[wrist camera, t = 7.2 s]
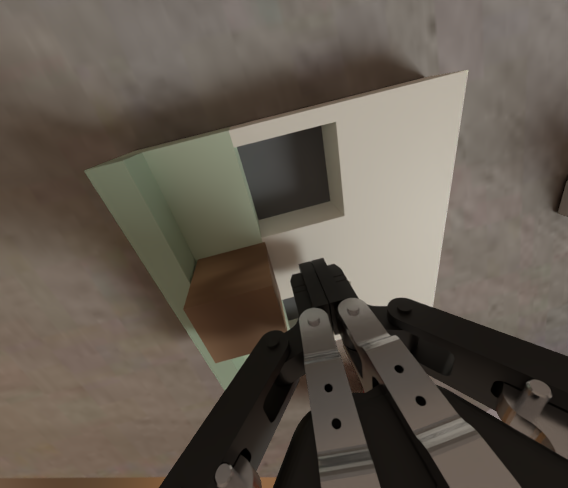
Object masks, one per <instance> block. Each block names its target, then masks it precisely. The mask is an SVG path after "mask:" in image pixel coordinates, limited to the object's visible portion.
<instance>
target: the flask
mask: <svg viewBox="0 0 568 488" xmlns="http://www.w3.org/2000/svg"><path fill="white" fill-rule="evenodd" d="M558 214H561V215H564V216H567V217H568V180H567V182H566V185H565V189H564V192H563V196H562V199H561V203H560V206H559V210H558Z"/></svg>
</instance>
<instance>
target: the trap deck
mask: <svg viewBox="0 0 568 488" xmlns="http://www.w3.org/2000/svg"><path fill="white" fill-rule="evenodd" d="M467 76H468V70H464V71H458V72H453V73H447V74H441V75H436V76H430V77H425V78H421V79H417V80H413V81H409V82H405V83H401V84H397V85H393V86H389V87H385V88H381V89H377V90H373V91H369V92H365V93H361V94H357V95H353V96H349V97H346V98H342V99H338V100H334V101H330V102H326V103H322V104H318V105H314V106H310V107H306V108H302V109H298V110H294V111H290V112H286V113H282V114H278V115H274V116H270V117H266V118H263V119H259V120H255V121H251V122H247V123H243V124H239V125H235V126H231V127H227V128H223V129H219V130H215V131H211V132H207V133H203V134H199V135H195V136H191V137H187V138H183V139H179V140H176V141H172V142H168V143H164V144H160V145H156V146H152V147H148V148H144V149H140V150H136V151H133V152H130V153H128V154H125V155H123V156H120V157H118V158H115V159H112V160H110V161H107V162H105V163H102V164H99V165H97V166H94V167H92V168H89V169H87V170H84V172H85V174H86V175H87V177H88V178H89V180H90V181H91V183H92V184H93V186H94V188H95V189H96V191H97V192H98V194H99V195H100V197H101V199H102V200H103V202H104V203H105V205H106V206H107V208H108V209H109V211H110V213H111V214H112V216H113V217H114V219H115V220H116V222H117V224H118V225H119V227H120V228H121V230H122V231H123V233H124V234H125V236H126V238H127V239H128V241H129V242H130V244H131V245H132V247H133V249H134V250H135V252H136V253H137V255H138V256H139V258H140V259H141V261H142V263H143V264H144V266H145V267H146V269H147V270H148V272H149V273H150V275H151V277H152V278H153V280H154V281H155V283H156V284H157V286H158V288H159V289H160V291H161V292H162V294H163V295H164V297H165V298H166V300H167V302H168V303H169V305H170V306H171V308H172V309H173V311H174V313H175V314H176V316H177V317H178V319H179V320H180V322H181V323H182V325H183V327H184V328H185V330H186V331H187V333H188V334H189V336H190V337H191V339H192V341H193V342H194V344H195V345H196V347H197V348H198V350H199V352H200V353H201V355H202V356H203V358H204V359H205V361H206V362H207V364H208V366H209V367H210V369H211V370H212V372H213V373H214V375H215V377H216V378H217V380H218V381H219V383H220V384H221V386H222V387H223V389H224V391H225V390H226V389H227V387H228V386H229V384H230V383H231V381H232V380H233V378H234V377H235V375H236V374H237V372H238V371H239V369H240V368H241V366H242V365H243V364H244V362H245V361H246V359H247V358H248V356H249V355H250V354H248V355H244V356H241V357H237V358H233V359H230V360H226V361H222V362H219V363H215V362H214V360H213V358H212V357H211V355H210V353H209V352H208V350H207V348H206V347H205V345H204V343H203V342H202V340H201V338H200V337H199V335H198V333H197V332H196V330H195V328H194V327H193V325H192V323H191V322H190V320H189V318H188V317H187V315H186V313H185V312H184V310H183V308H184V305H185V301H186V298H187V294H188V291H189V288H190V284H191V281H192V278H193V274H194V271H195V267H196V264H197V261H198V259H202V258H206V257H210V256H213V255H217V254H221V253H225V252H229V251H232V250H236V249H240V248H244V247H248V246H251V245H255V244H259V243H263V242H265V244H266V247H267V250H268V254H269V257H270V261H271V264H272V268H273V271H274V274H275V278H276V281H277V285H278V288H279V292H280V296H281V301H282V306H283V311H284V315H285V320H286V325H287V330H290V329H291V328H292V327H294V326H295V324H296V323H297V321H298V318H299V314H298V310H297V306H296V302H295V298H294V294H293V290H292V287H291V283H290V280H291V277H292V275H293V274H297V273H300V269H299V265H298V264H301V263H305V262H308V261H312V260H316V259H320V258H324V260H325V262H326V264H327V265H331V264H335V265H337V266H338V267H340V268H341V269H342V271H343V273H344V275H345V276H346V278H347V280H348V281H349V283H350V285H351V286H352V288H353V290H354V291H355V293H356V295H357V296H358V298H359V299H361V300H362V301H364V302H365V303H366V304H368V305H371V306H387V305H388V303H389V302H390V301H391V300H392V299H395V298H408V299H411V300H414V301H417V302H419V303H422V304H425V305H428V306H430V307H433V302H434V296H435V289H436V282H437V276H438V269H439V262H440V256H441V249H442V242H443V236H444V229H445V222H446V216H447V209H448V203H449V196H450V189H451V183H452V176H453V169H454V163H455V156H456V149H457V143H458V136H459V129H460V123H461V116H462V109H463V103H464V96H465V89H466V83H467ZM333 334H334V332H333ZM334 339H335V341H336V340H339V339H342V338H341V336H340V334H338V335H335V334H334Z"/></svg>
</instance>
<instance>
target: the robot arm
mask: <svg viewBox="0 0 568 488" xmlns="http://www.w3.org/2000/svg"><path fill="white" fill-rule="evenodd" d="M298 265H299V269H300V273H297V274H293V275H292V277H291V280H290V283H291V287H292V290H293V294H294V298H295V302H296V306H297V310H298V314H299V318H298V321H297V323H296V324H295V326H294V327H292V328H291V329H290V330H288V331H286V332H285V333H284V332H282V331H279V330H273V331H269V332H267V333H266V334H264V335H263V336H262V337H261V339H260V340H259V342H258V343H257V344H256V346H255V347H254V349H253V350H252V352H251V353H250V355H249V356H248V358H247V359H246V361H245V362H244V364H243V365H242V366H241V368H240V369H239V371H238V372H237V374H236V375H235V377H234V378H233V380H232V381H231V383H230V384H229V386H228V387H227V389H226V390H225V391H224V393H223V394H222V396H221V397H220V399H219V400H218V402H217V403H216V405H215V406H214V408H213V409H212V411H211V412H210V413H209V415H208V416H207V418H206V419H205V421H204V422H203V424H202V425H201V427H200V428H199V430H198V431H197V433H196V434H195V435H194V437H193V438H192V440H191V441H190V443H189V444H188V446H187V447H186V449H185V450H184V452H183V453H182V455H181V456H180V457H179V459H178V460H177V462H176V463H175V465H174V466H173V468H172V469H171V471H170V472H169V474H168V475H167V477H166V478H165V480H164V481H163V483H162V484H161V485H160V487H159V488H262V486H261V480H260V477H259V475H258V473H257V472H256V470H257V468H258V466H259V464H260V462H261V460H262V458H263V456H264V454H265V452H266V449H267V447H268V445H269V443H270V441H271V439H272V437H273V435H274V433H275V430H276V428H277V426H278V424H279V422H280V420H281V418H282V416H283V414H284V412H285V409H286V407H287V405H288V403H289V401H290V399H291V397H292V395H293V393H294V390H295V388H296V386H297V384H298V382H299V378H300V377H301V376H303V375H304V374H306V379H307V386H308V393H309V400H310V407H311V411H310V412H308V413H307V414H306V415H305V416H304V417H303V419H302V420H301V421H300V423H299V424H298V426H297V428H296V430H295V432H294V434H293V437H292V439H291V442H290V445H289V447H288V450H287V452H286V455H285V458H284V460H283V463H282V465H281V468H280V471H279V473H278V476H277V478H276V481H275V484H274V486H273V488H568V356H565V355H563V354H560V353H557V352H554V351H552V350H549V349H546V348H543V347H541V346H538V345H535V344H532V343H530V342H527V341H524V340H521V339H518V338H516V337H513V336H510V335H507V334H505V333H502V332H499V331H496V330H494V329H491V328H488V327H485V326H483V325H480V324H477V323H474V322H472V321H469V320H466V319H463V318H461V317H458V316H455V315H452V314H450V313H447V312H444V311H441V310H439V309H436V308H433V307H430V306H428V305H425V304H422V303H419V302H417V301H414V300H411V299H408V298H395V299H392V300H391V301H390V302H389V303H388V305H387V306H371V305H368V304H366V303H365V302H364V301H362V300H361V299H359V298H358V296H357V295H356V293H355V291H354V290H353V288H352V286H351V285H350V283H349V281H348V280H347V278H346V276H345V275H344V273H343V271H342V269H341V268H340V267H338V266H337V265H335V264H331V265H327V264H326V262H325V260H324V258H320V259H316V260H312V261H308V262H305V263H301V264H298ZM333 332H334V334H335V335H338V334H340V336H341V338H342V341H343V347H344V350H345V352H346V354H347V356H348V358H349V360H350V362H351V364H352V366H353V368H354V370H355V371H356V373H357V375H358V377H359V379H360V381H361V384H362V386H363V389H364V393H352V392H351V389H350V386H349V382H348V379H347V376H346V372H345V369H344V365H343V362H342V359H341V355H340V353H339V352H338V349H337V346H336V342H335V339H334V334H333ZM427 374H428V375H430V376H432V377H433V378H435V379H437V380H439V381H441V382H443V383H445V384H446V385H448V386H450V387H452V388H454V389H456V390H458V391H459V392H461V393H463V394H465V395H467V396H469V397H471V398H473V399H474V400H476V401H478V402H480V403H482V404H484V405H486V406H487V407H489V408H491V409H493V410H495V411H497V414H498V416H499V417H500V419H501V420H502V421H500V420H499V419H497V418H495V417H494V416H492V415H490V414H488V413H487V412H485V411H483V410H482V409H480V408H478V407H476V406H475V405H473V404H471V403H470V402H468V401H466V400H464V399H463V398H461V397H459V396H458V395H456V394H454V393H452V392H451V391H449V390H447V389H445V388H443V387H440V386H438V385H435V384H434V382H433V381H432V380H431V378H430V377H429V376H428V375H427Z"/></svg>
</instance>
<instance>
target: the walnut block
mask: <svg viewBox="0 0 568 488" xmlns="http://www.w3.org/2000/svg"><path fill="white" fill-rule="evenodd" d="M183 310H184V312H185V313H186V315H187V317H188V318H189V320H190V322H191V323H192V325H193V327H194V328H195V330H196V332H197V333H198V335H199V337H200V338H201V340H202V342H203V343H204V345H205V347H206V348H207V350H208V352H209V353H210V355H211V357H212V358H213V360H214V362H215V363H219V362H222V361H226V360H230V359H233V358H237V357H241V356H244V355H248V354H250V353H251V352H252V350H253V349H254V347H255V346H256V344H257V343H258V342H259V340H260V339H261V337H262V336H263V335H264V334H266V333H267V332H269V331H273V330H279V331H282V332H284V333H285V332H286V331H288V330H287V325H286V320H285V315H284V311H283V306H282V301H281V296H280V292H279V288H278V285H277V281H276V278H275V274H274V271H273V268H272V264H271V261H270V257H269V254H268V250H267V247H266V244H265V242H263V243H259V244H255V245H251V246H248V247H244V248H240V249H236V250H232V251H229V252H225V253H221V254H217V255H213V256H210V257H206V258H202V259H198V261H197V264H196V267H195V271H194V274H193V278H192V281H191V284H190V288H189V291H188V294H187V298H186V301H185V305H184V308H183Z"/></svg>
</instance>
